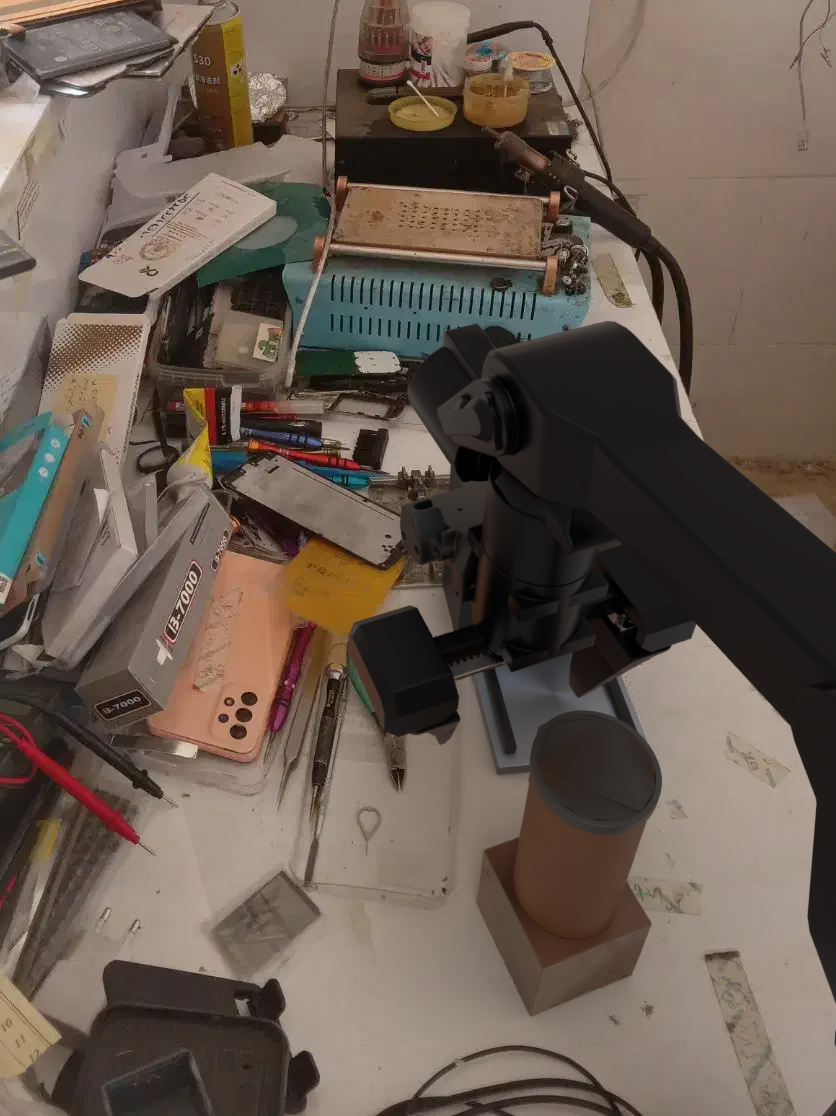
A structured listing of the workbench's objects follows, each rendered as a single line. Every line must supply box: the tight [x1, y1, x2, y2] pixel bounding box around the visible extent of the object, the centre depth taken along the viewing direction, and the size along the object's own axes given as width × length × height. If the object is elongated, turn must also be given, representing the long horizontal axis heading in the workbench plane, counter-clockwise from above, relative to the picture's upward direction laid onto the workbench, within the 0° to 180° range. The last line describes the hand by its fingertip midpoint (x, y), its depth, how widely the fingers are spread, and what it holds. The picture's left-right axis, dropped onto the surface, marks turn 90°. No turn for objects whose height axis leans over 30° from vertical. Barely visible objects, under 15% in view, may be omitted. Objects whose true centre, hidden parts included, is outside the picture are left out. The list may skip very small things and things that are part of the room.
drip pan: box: [471, 652, 649, 775], centre depth 75 cm, size 11×11×2 cm
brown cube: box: [476, 836, 653, 1017], centre depth 61 cm, size 7×7×7 cm
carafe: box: [513, 710, 663, 939], centre depth 55 cm, size 8×6×13 cm
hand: (508, 713), depth 60 cm, fingers open, 9 cm apart
